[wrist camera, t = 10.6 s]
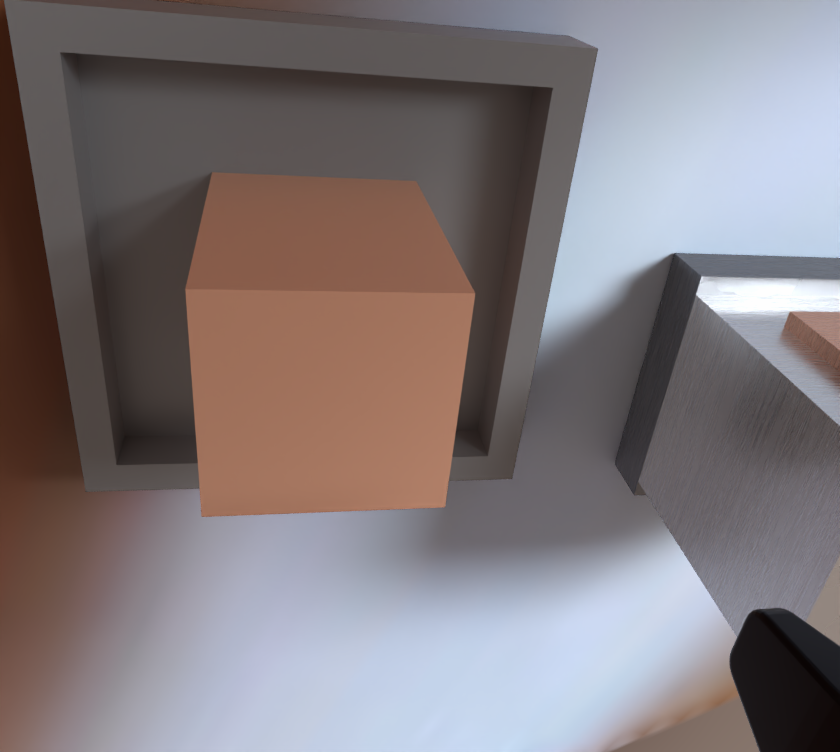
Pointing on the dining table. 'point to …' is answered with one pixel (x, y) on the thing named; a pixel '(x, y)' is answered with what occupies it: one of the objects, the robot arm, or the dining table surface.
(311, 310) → the terracotta block
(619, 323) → the dining table surface
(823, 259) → the mounted unit
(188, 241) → the charcoal tray
